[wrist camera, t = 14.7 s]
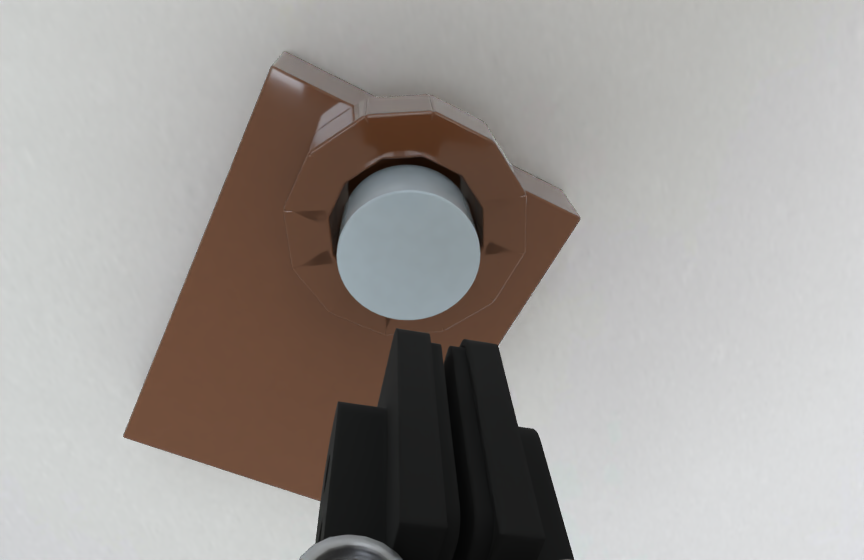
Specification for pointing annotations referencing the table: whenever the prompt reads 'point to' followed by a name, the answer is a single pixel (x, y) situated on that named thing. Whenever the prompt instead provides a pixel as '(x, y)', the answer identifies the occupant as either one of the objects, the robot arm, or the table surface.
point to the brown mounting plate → (325, 275)
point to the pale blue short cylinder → (407, 243)
